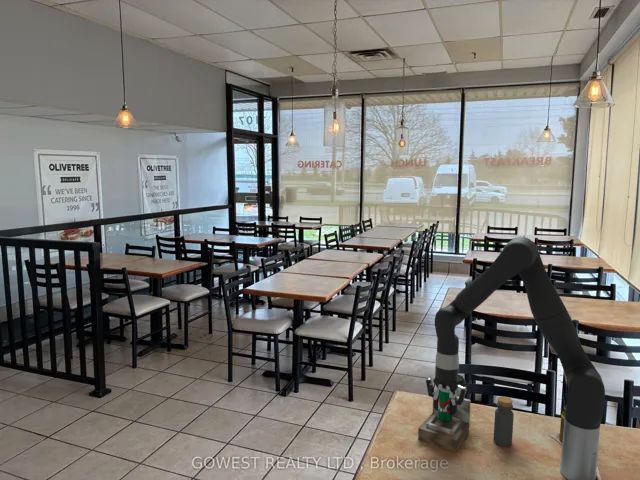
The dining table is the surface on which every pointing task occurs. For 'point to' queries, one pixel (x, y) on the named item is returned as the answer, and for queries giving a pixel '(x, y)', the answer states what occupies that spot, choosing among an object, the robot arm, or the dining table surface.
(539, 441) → the dining table surface
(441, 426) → the display stand
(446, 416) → the soda can
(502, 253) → the robot arm
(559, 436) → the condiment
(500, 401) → the bottle
